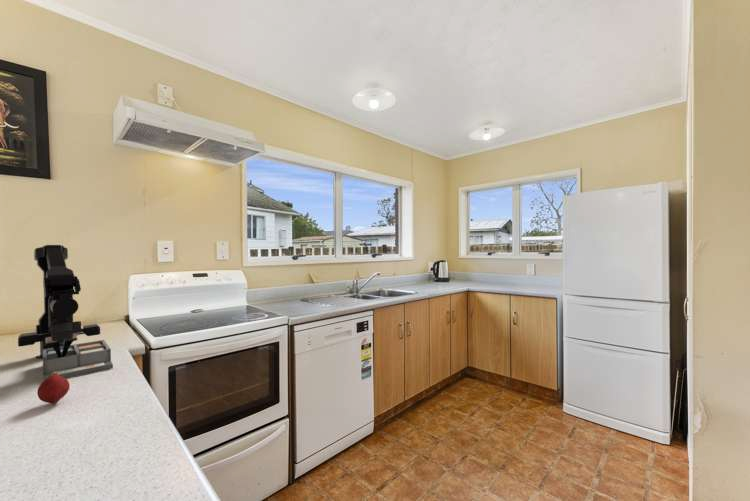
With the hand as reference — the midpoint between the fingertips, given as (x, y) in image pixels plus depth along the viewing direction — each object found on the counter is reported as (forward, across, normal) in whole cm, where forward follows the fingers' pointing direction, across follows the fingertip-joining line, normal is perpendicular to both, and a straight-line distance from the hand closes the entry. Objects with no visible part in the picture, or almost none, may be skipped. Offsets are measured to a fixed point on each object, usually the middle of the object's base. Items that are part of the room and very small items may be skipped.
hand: (61, 361), depth 105 cm
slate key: (0, 0, +8) cm, 8 cm away
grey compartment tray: (+3, +4, +2) cm, 5 cm away
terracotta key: (0, +8, +8) cm, 11 cm away
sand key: (0, +8, 0) cm, 8 cm away
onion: (+4, -3, -28) cm, 28 cm away
